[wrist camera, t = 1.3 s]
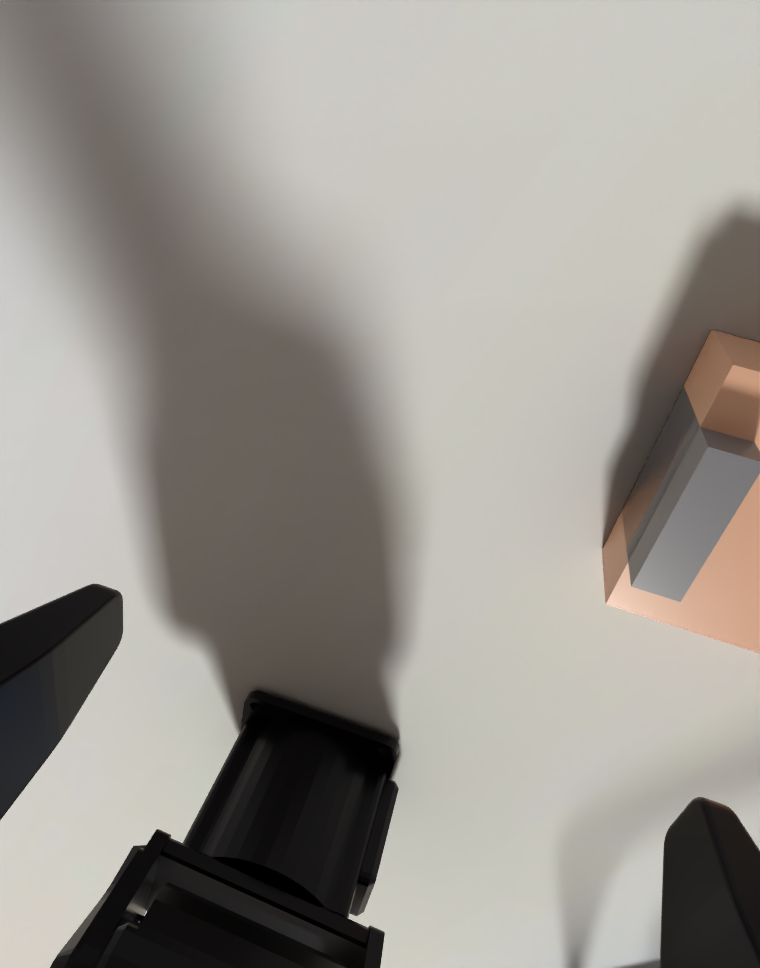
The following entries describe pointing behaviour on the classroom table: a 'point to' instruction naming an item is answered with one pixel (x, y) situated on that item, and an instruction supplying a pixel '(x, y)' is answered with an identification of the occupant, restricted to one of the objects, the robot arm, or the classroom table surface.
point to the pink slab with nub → (698, 506)
